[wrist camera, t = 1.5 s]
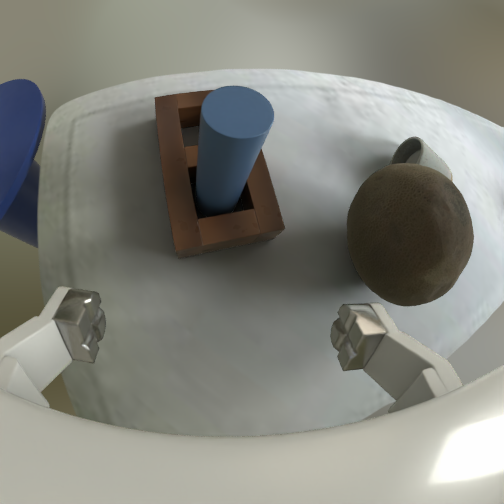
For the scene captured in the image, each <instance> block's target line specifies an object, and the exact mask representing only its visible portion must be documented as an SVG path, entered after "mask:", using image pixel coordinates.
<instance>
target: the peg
mask: <svg viewBox="0 0 504 504" xmlns="http://www.w3.org/2000/svg"><path fill="white" fill-rule="evenodd" d="M273 121H274V111H273V108H272V106H271V104H270V102H269V101H268V100H267V99H266V98H265V97H264V96H263V95H262V94H260V93H258V92H257V91H255V90H253V89H250V88H247V87H242V86H225V87H221V88H218V89H216V90H214V91H212V92H211V93H209V94H208V95H207V96H206V98H205V99H204V101H203V103H202V106H201V116H200V128H199V141H198V156H197V173H196V195H195V202H196V206H197V208H198V210H199V211H200V212H201V213H202V214H203V215H204V216H206V217H212V216H217V215H222V214H228V213H232V212H233V210H234V209H235V206H236V204H237V202H238V200H239V197H240V195H241V193H242V190H243V188H244V186H245V183H246V181H247V179H248V177H249V174H250V172H251V170H252V168H253V165H254V163H255V161H256V159H257V157H258V154H259V152H260V150H261V148H262V146H263V143H264V141H265V139H266V137H267V135H268V133H269V130H270V128H271V126H272V124H273Z"/></svg>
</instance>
